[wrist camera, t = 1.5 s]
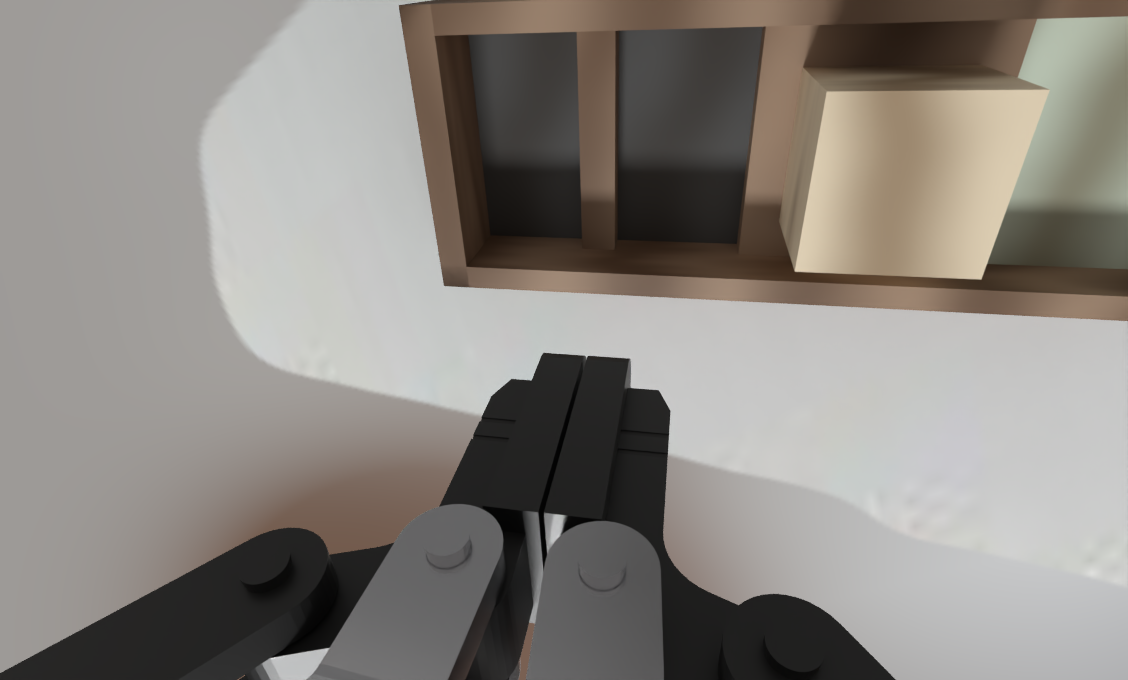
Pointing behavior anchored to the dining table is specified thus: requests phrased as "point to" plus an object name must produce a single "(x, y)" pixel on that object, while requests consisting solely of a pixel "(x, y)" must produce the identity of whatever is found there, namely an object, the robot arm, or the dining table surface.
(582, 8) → the track
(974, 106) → the oak block
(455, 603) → the robot arm
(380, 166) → the dining table surface
